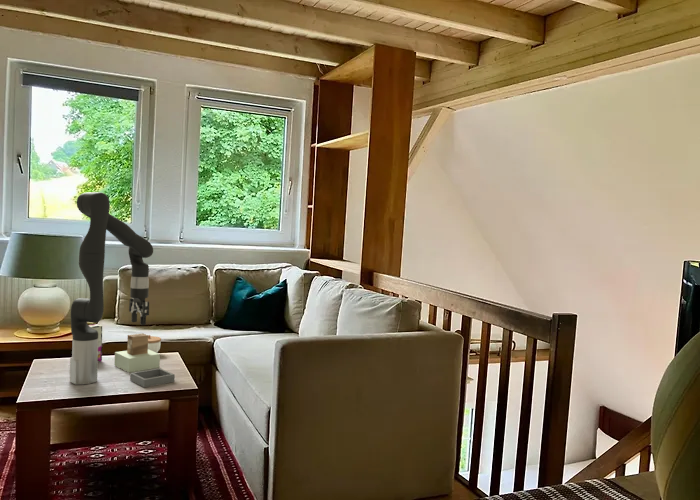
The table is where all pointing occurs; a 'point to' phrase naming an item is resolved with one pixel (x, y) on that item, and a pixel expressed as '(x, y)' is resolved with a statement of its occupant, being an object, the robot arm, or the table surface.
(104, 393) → the table surface
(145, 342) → the walnut parts box
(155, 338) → the lidded jar
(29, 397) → the table surface
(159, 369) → the charcoal bin
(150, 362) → the block
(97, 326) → the candy bar box
